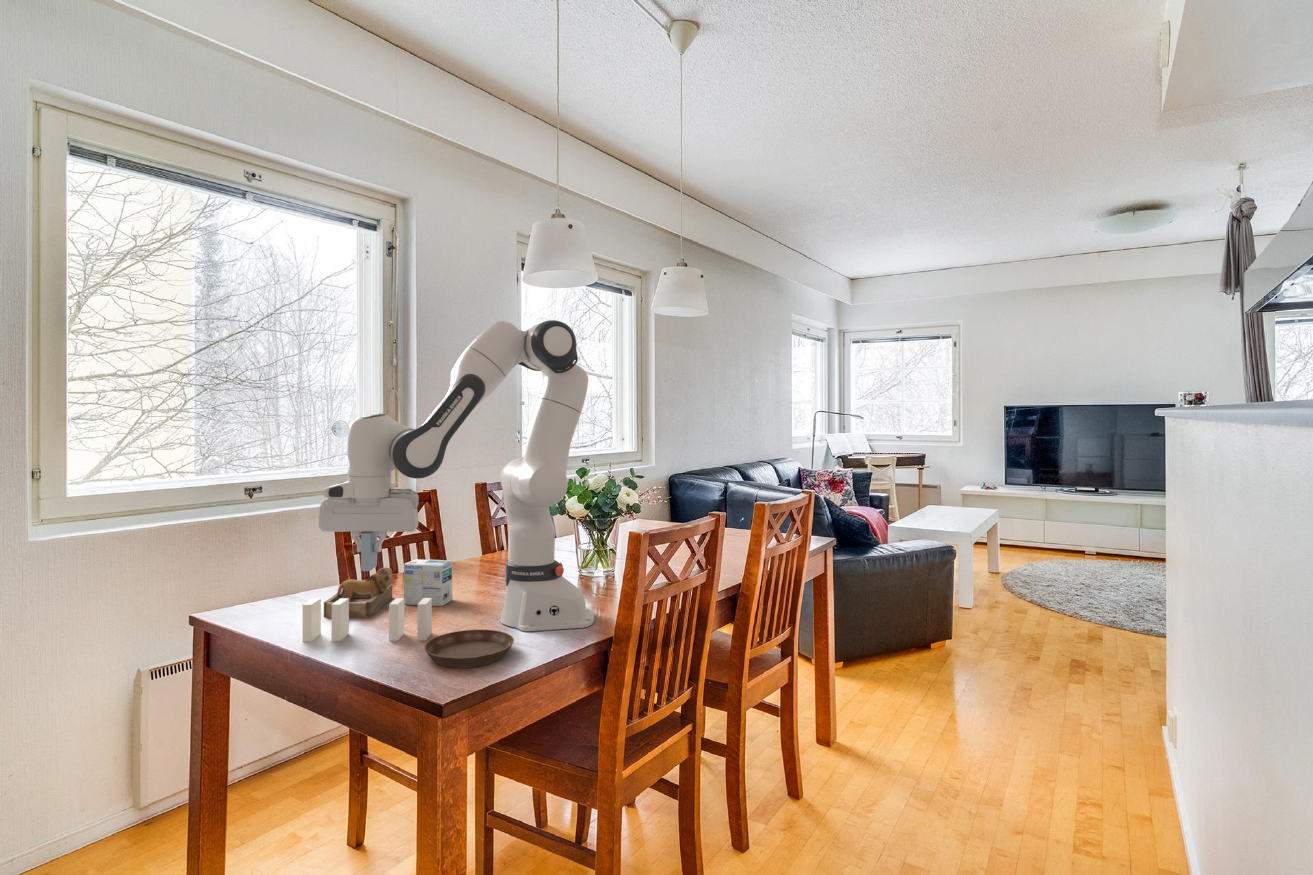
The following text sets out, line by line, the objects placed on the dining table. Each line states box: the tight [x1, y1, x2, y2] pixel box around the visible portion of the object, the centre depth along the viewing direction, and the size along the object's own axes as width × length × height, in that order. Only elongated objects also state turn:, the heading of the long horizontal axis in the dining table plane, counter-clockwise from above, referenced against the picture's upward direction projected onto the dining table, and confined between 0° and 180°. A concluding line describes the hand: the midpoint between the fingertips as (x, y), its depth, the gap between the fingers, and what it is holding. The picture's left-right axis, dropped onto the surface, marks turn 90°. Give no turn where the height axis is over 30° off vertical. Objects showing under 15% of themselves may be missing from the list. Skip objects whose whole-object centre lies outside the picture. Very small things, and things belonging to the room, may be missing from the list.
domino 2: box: [331, 598, 350, 642], centre depth 148 cm, size 2×5×8 cm, turn 5°
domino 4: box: [388, 597, 405, 642], centre depth 149 cm, size 2×5×8 cm, turn 5°
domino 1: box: [302, 597, 322, 643], centre depth 148 cm, size 2×5×8 cm, turn 5°
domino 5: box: [416, 598, 433, 642], centre depth 150 cm, size 2×5×8 cm, turn 5°
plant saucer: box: [423, 629, 515, 669], centre depth 139 cm, size 18×18×3 cm
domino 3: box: [360, 532, 378, 572], centre depth 148 cm, size 2×5×8 cm, turn 6°
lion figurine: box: [336, 566, 394, 602], centre depth 172 cm, size 15×5×9 cm, turn 124°
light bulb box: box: [403, 558, 453, 607], centre depth 177 cm, size 11×7×11 cm, turn 84°
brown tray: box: [323, 584, 393, 619], centre depth 172 cm, size 11×19×4 cm, turn 5°
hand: (369, 551), depth 148 cm, fingers closed on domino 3, 2 cm apart
